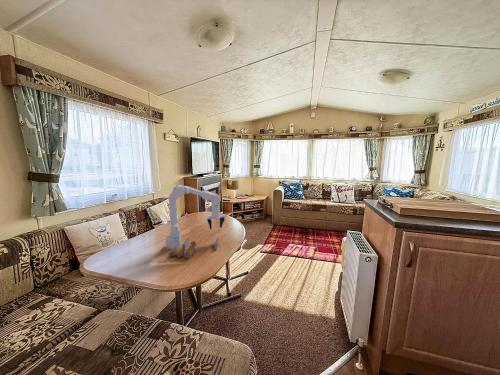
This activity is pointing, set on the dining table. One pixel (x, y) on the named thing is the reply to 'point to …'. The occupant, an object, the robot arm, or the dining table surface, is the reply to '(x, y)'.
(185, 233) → the dining table surface
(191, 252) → the wooden block set
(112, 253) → the dining table surface
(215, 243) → the pair of rectangular slabs
